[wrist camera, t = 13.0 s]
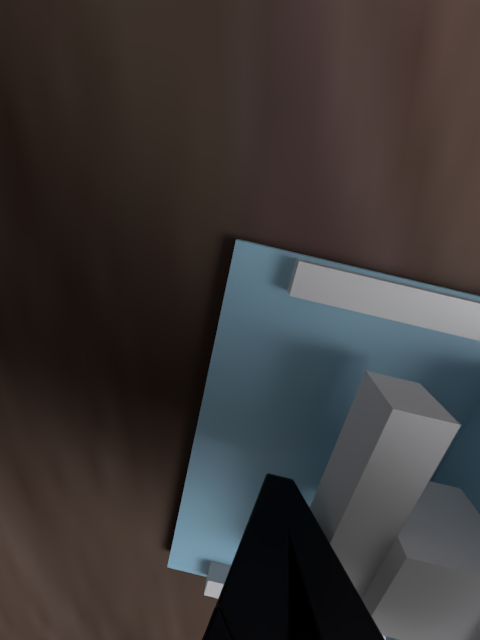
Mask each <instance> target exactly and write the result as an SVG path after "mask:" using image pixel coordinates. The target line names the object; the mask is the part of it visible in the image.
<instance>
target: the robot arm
mask: <svg viewBox="0 0 480 640" xmlns="http://www.w3.org/2000/svg"><path fill="white" fill-rule="evenodd" d="M202 640H385V639H384V637H383V636H382V634H381V632H380V630H379V629H378V627H377V625H376V623H375V622H374V620H373V618H372V616H371V615H370V613H369V611H368V609H367V608H366V606H365V604H364V602H363V601H362V599H361V597H360V595H359V594H358V592H357V590H356V588H355V586H354V585H353V583H352V581H351V579H350V578H349V576H348V574H347V572H346V571H345V569H344V567H343V565H342V564H341V562H340V560H339V558H338V557H337V555H336V553H335V551H334V550H333V548H332V546H331V544H330V543H329V541H328V539H327V537H326V536H325V534H324V532H323V530H322V529H321V527H320V525H319V523H318V522H317V520H316V518H315V516H314V515H313V513H312V511H311V509H310V508H309V506H308V504H307V502H306V501H305V499H304V497H303V495H302V494H301V492H300V490H299V488H298V487H297V485H296V483H295V481H294V480H293V479H291V478H287V477H282V476H278V475H274V474H270V473H267V474H266V476H265V478H264V481H263V484H262V486H261V489H260V491H259V494H258V497H257V499H256V502H255V504H254V507H253V510H252V512H251V515H250V517H249V520H248V523H247V525H246V528H245V530H244V533H243V536H242V538H241V541H240V543H239V546H238V549H237V551H236V554H235V556H234V559H233V562H232V564H231V567H230V569H229V572H228V575H227V577H226V580H225V582H224V585H223V588H222V590H221V593H220V595H219V598H218V601H217V603H216V607H215V608H214V610H213V613H212V616H211V618H210V621H209V623H208V626H207V629H206V631H205V634H204V636H203V638H202Z"/></svg>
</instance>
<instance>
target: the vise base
mask: <svg viewBox="0 0 480 640" xmlns="http://www.w3.org/2000/svg"><path fill="white" fill-rule="evenodd" d="M365 371H370V372H374V373H378V374H383V375H387V376H391V377H395V378H399V379H404V380H408V381H412V382H416V383H420V384H421V385H422V386H423V387H424V388H425V389H426V390H427V391H428V392H429V393H430V394H431V395H432V396H433V397H434V398H435V399H436V400H437V401H438V402H439V403H440V404H441V405H442V406H443V407H444V408H445V410H446V411H447V412H448V413H449V414H450V415H451V416H452V417H453V418H454V419H455V420H456V421H457V422H458V423H459V424H460V425H461V426H460V428H459V430H458V431H457V433H456V435H455V437H454V438H453V440H452V442H451V444H450V445H449V447H448V449H447V451H446V452H445V454H444V456H443V458H442V459H441V461H440V463H439V465H438V466H437V468H436V470H435V472H434V473H433V475H432V477H431V479H430V480H429V481H431V482H433V480H434V478H435V477H436V475H437V473H438V471H439V470H440V468H441V466H442V465H443V463H444V461H445V459H446V458H447V456H448V454H449V452H450V451H451V449H452V447H453V445H454V444H455V442H456V440H457V439H458V437H459V435H460V433H461V432H462V430H463V428H464V426H465V425H466V423H467V421H468V420H469V418H470V416H471V414H472V413H473V411H474V409H475V407H476V406H477V404H478V402H479V400H480V296H479V295H475V294H470V293H466V292H462V291H458V290H453V289H449V288H445V287H441V286H436V285H432V284H428V283H423V282H419V281H415V280H411V279H406V278H402V277H398V276H394V275H389V274H385V273H381V272H377V271H372V270H368V269H364V268H360V267H355V266H351V265H347V264H343V263H338V262H334V261H330V260H326V259H321V258H317V257H313V256H309V255H304V254H300V253H296V252H292V251H287V250H283V249H279V248H275V247H270V246H266V245H262V244H258V243H253V242H249V241H245V240H241V239H236V242H235V246H234V251H233V256H232V261H231V266H230V270H229V275H228V280H227V285H226V289H225V294H224V299H223V304H222V309H221V313H220V318H219V323H218V328H217V332H216V337H215V342H214V347H213V352H212V356H211V361H210V366H209V371H208V375H207V380H206V385H205V390H204V394H203V399H202V404H201V409H200V414H199V418H198V423H197V428H196V433H195V437H194V442H193V447H192V452H191V457H190V461H189V466H188V471H187V476H186V480H185V485H184V490H183V495H182V499H181V504H180V509H179V514H178V519H177V523H176V528H175V533H174V538H173V542H172V547H171V552H170V557H169V562H168V566H167V567H168V568H172V569H176V570H180V571H185V572H189V573H193V574H197V575H201V576H205V577H207V579H206V585H205V591H204V595H206V596H210V597H214V598H219V595H220V593H221V590H222V588H223V585H224V582H225V580H226V577H227V575H228V572H229V569H230V567H231V564H232V562H233V559H234V556H235V554H236V551H237V549H238V546H239V543H240V541H241V538H242V536H243V533H244V530H245V528H246V525H247V523H248V520H249V517H250V515H251V512H252V510H253V507H254V504H255V502H256V499H257V497H258V494H259V491H260V489H261V486H262V484H263V481H264V478H265V476H266V474H267V473H270V474H274V475H278V476H282V477H287V478H291V479H293V480H294V481H295V483H296V485H297V487H298V488H299V490H300V492H301V494H302V495H303V497H304V499H305V501H306V502H307V504H308V506H309V508H310V505H311V503H312V501H313V498H314V496H315V493H316V491H317V488H318V486H319V484H320V481H321V479H322V476H323V474H324V471H325V469H326V467H327V464H328V462H329V459H330V457H331V454H332V452H333V449H334V447H335V445H336V442H337V440H338V437H339V435H340V432H341V430H342V428H343V425H344V423H345V420H346V418H347V415H348V413H349V410H350V408H351V406H352V403H353V401H354V398H355V396H356V393H357V391H358V389H359V386H360V384H361V381H362V379H363V376H364V374H365ZM382 636H383V635H382ZM383 637H384V639H385V640H386V637H385V636H383Z"/></svg>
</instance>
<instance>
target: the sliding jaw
mask: <svg viewBox="0 0 480 640" xmlns="http://www.w3.org/2000/svg"><path fill="white" fill-rule="evenodd" d="M460 426H461V425H460V424H459V423H458V422H457V421H456V420H455V419H454V418H453V417H452V416H451V415H450V414H449V413H448V412H447V411H446V410H445V408H444V407H443V406H442V405H441V404H440V403H439V402H438V401H437V400H436V399H435V398H434V397H433V396H432V395H431V394H430V393H429V392H428V391H427V390H426V389H425V388H424V387H423V386H422V385H421V384H420V383H416V382H412V381H408V380H404V379H399V378H395V377H391V376H387V375H383V374H378V373H374V372H370V371H365V374H364V376H363V379H362V381H361V384H360V386H359V389H358V391H357V393H356V396H355V398H354V401H353V403H352V406H351V408H350V410H349V413H348V415H347V418H346V420H345V423H344V425H343V428H342V430H341V432H340V435H339V437H338V440H337V442H336V445H335V447H334V449H333V452H332V454H331V457H330V459H329V462H328V464H327V467H326V469H325V471H324V474H323V476H322V479H321V481H320V484H319V486H318V488H317V491H316V493H315V496H314V498H313V501H312V503H311V505H310V509H311V511H312V513H313V515H314V516H315V518H316V520H317V522H318V523H319V525H320V527H321V529H322V530H323V532H324V534H325V536H326V537H327V539H328V541H329V543H330V544H331V546H332V548H333V550H334V551H335V553H336V555H337V557H338V558H339V560H340V562H341V564H342V565H343V567H344V569H345V571H346V572H347V574H348V576H349V578H350V579H351V581H352V583H353V585H354V586H355V588H356V590H357V592H358V594H359V595H360V597H361V599H362V601H363V602H364V604H365V606H366V608H367V609H368V611H369V613H370V615H371V616H372V618H373V620H374V622H375V623H376V625H377V627H378V629H379V630H380V632H381V634H382V635H383V636H385V637H386V640H480V400H479V402H478V404H477V406H476V407H475V409H474V411H473V413H472V414H471V416H470V418H469V420H468V421H467V423H466V425H465V426H464V428H463V430H462V432H461V433H460V435H459V437H458V439H457V440H456V442H455V444H454V445H453V447H452V449H451V451H450V452H449V454H448V456H447V458H446V459H445V461H444V463H443V465H442V466H441V468H440V470H439V471H438V473H437V475H436V477H435V478H434V480H433V482H431V481H429V480H430V479H431V477H432V475H433V473H434V472H435V470H436V468H437V466H438V465H439V463H440V461H441V459H442V458H443V456H444V454H445V452H446V451H447V449H448V447H449V445H450V444H451V442H452V440H453V438H454V437H455V435H456V433H457V431H458V430H459V428H460Z"/></svg>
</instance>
